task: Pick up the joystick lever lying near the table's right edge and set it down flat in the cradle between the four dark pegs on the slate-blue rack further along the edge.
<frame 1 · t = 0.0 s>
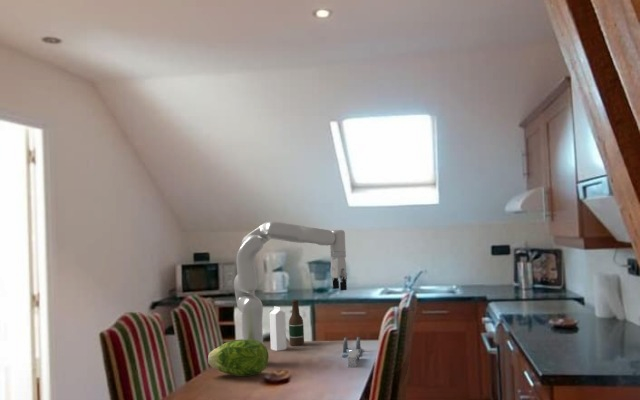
hand: (339, 289, 290), 31 cm above the table, tool pointing down, fingers open, 9 cm apart
rack: (352, 353, 288), on the table
milk: (278, 349, 304), on the table
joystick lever: (352, 363, 266), on the table
lettuce: (238, 376, 252), on the table
beer bottle: (296, 345, 314), on the table
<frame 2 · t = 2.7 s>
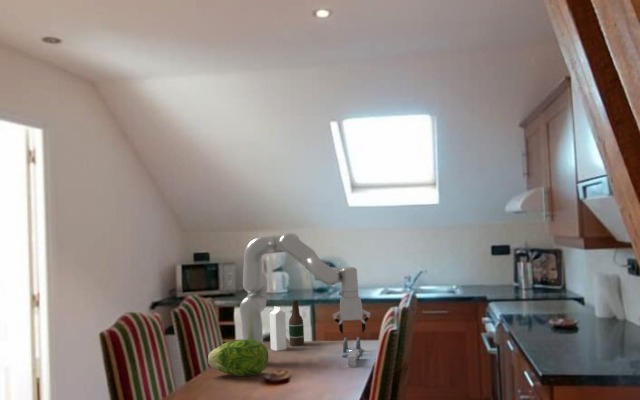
hand: (352, 332, 266), 14 cm above the table, tool pointing down, fingers open, 9 cm apart
nothing on the table moved.
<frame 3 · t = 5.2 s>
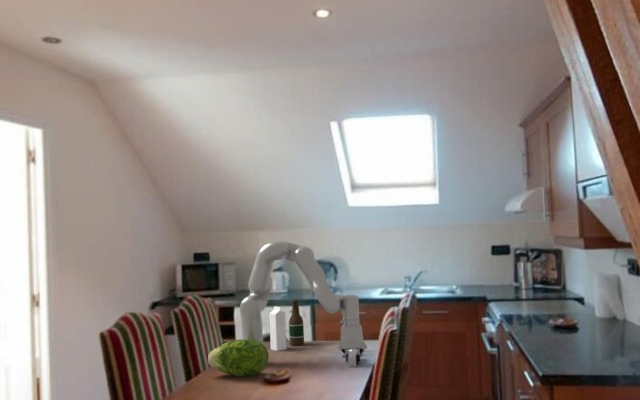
hand: (353, 363, 266), 0 cm above the table, tool pointing down, fingers closed on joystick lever, 3 cm apart
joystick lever: (353, 363, 266), on the table, touching gripper
everything else where it was.
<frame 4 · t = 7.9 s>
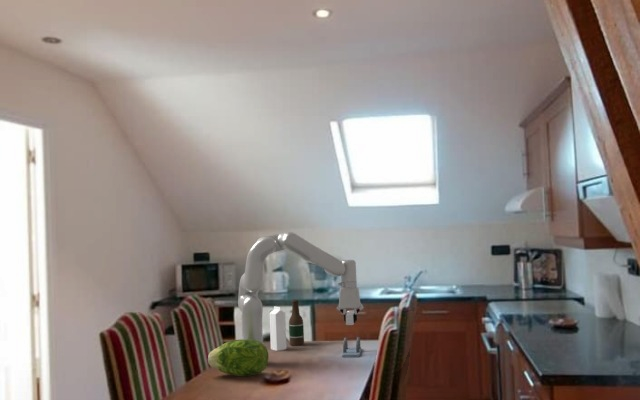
hand: (350, 322, 289), 15 cm above the table, tool pointing down, fingers closed on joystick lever, 3 cm apart
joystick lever: (350, 322, 289), point 15 cm above the table, touching gripper
everything else where it was.
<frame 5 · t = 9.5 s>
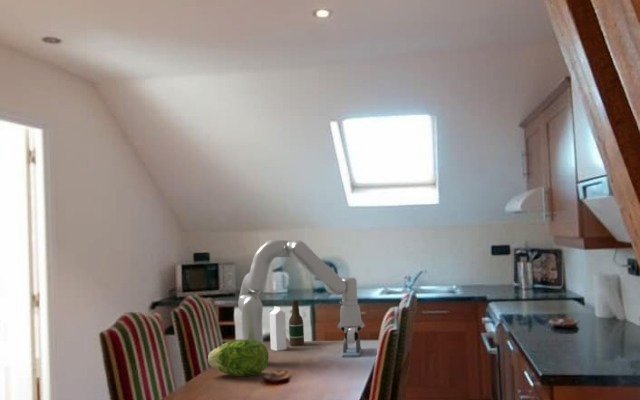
hand: (351, 340, 288), 6 cm above the table, tool pointing down, fingers closed on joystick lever, 3 cm apart
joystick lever: (351, 340, 288), point 6 cm above the table, touching gripper
everything else where it was.
when the fingers open (3 cm above the table, at t = 10.9 s): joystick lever drops 1 cm, resting on rack.
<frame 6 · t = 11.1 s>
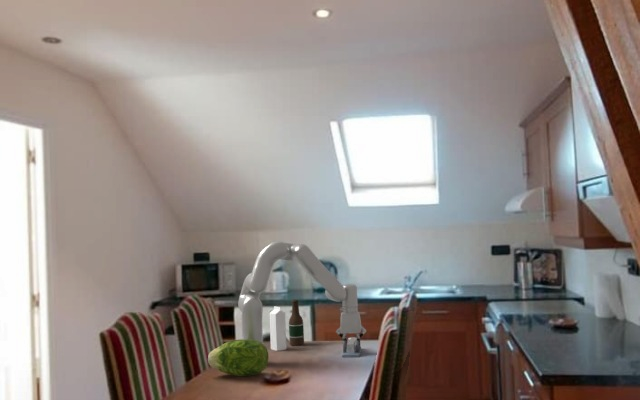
hand: (351, 346, 288), 3 cm above the table, tool pointing down, fingers open, 5 cm apart
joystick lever: (351, 350, 288), point 1 cm above the table, touching rack
everything else where it was.
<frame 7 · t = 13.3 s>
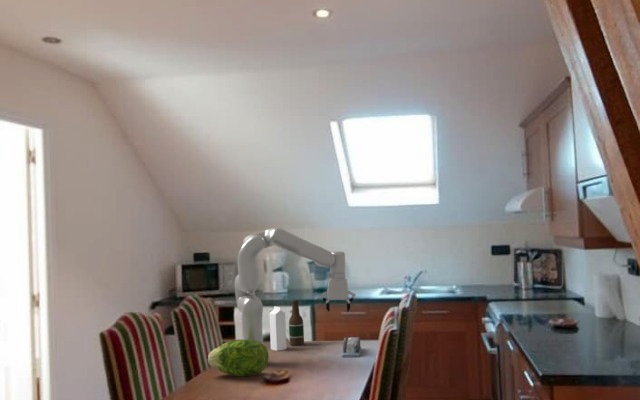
hand: (338, 311, 290), 21 cm above the table, tool pointing down, fingers open, 9 cm apart
nothing on the table moved.
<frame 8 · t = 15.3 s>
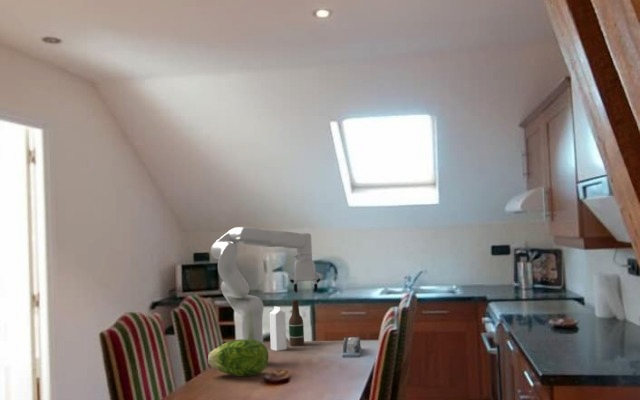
hand: (305, 292, 293), 30 cm above the table, tool pointing down, fingers open, 9 cm apart
nothing on the table moved.
at the end: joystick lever inside the target area on the rack (0.2 cm from its centre), point 1.2 cm above the rack's base; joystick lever tilted 0°; the gripper is holding nothing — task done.
